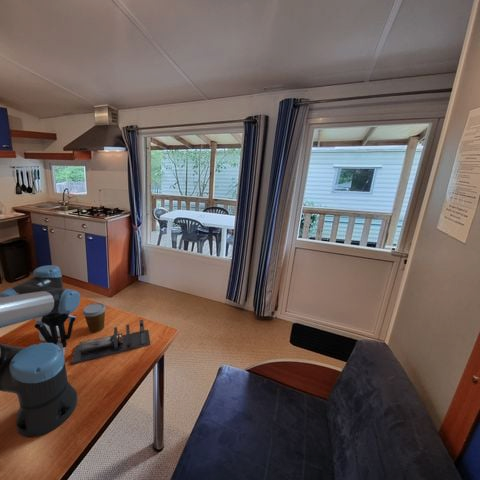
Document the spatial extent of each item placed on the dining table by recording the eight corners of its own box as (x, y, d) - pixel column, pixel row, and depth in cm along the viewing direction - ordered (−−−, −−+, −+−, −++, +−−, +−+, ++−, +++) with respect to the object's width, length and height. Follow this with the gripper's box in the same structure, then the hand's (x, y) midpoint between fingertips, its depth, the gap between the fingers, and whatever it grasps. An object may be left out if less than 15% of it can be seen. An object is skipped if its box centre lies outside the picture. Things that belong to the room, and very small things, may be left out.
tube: (79, 355, 94) (78, 346, 92) (81, 348, 97) (80, 339, 96) (122, 344, 101) (121, 336, 100) (122, 338, 105) (121, 330, 103)
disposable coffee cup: (81, 330, 109) (77, 309, 106) (100, 320, 117) (97, 300, 114) (93, 337, 105) (90, 316, 102) (112, 326, 114) (110, 306, 110)
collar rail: (150, 344, 104) (149, 329, 102) (71, 364, 90) (68, 348, 88) (148, 331, 113) (147, 317, 110) (75, 347, 99) (73, 332, 97)
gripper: (75, 296, 92) (82, 343, 98) (34, 302, 86) (44, 351, 93) (72, 306, 85) (79, 355, 92) (27, 313, 80) (39, 365, 86)
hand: (62, 353), depth 92 cm, fingers closed
